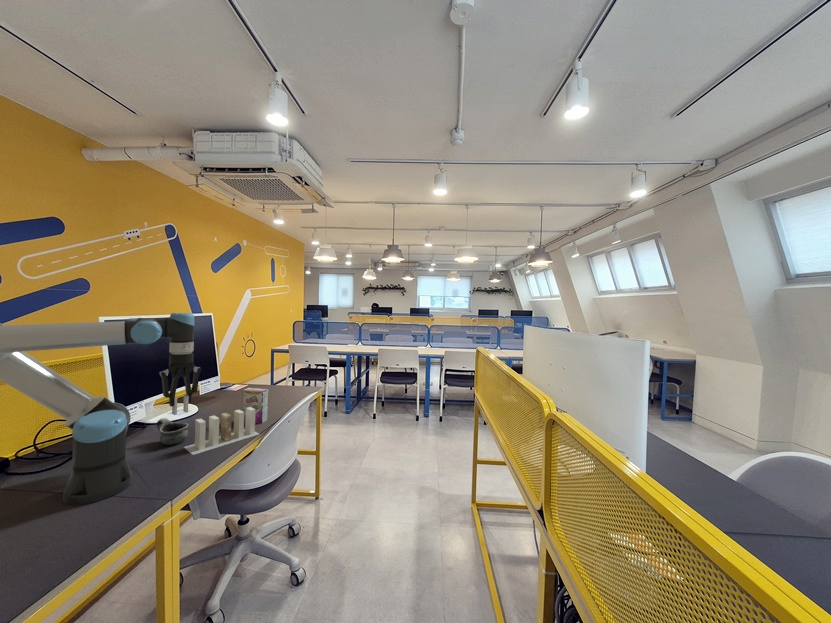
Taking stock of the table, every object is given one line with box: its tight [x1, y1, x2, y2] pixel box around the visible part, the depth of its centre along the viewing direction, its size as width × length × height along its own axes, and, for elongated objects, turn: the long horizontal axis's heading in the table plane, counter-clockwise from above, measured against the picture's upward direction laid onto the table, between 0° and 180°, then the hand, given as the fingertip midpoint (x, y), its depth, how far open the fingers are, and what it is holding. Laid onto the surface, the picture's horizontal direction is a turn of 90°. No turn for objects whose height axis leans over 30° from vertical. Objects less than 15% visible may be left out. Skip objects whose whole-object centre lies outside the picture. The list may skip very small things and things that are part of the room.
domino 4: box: [244, 407, 256, 434], centre depth 142 cm, size 2×5×11 cm, turn 54°
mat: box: [183, 428, 260, 456], centre depth 133 cm, size 26×10×1 cm, turn 144°
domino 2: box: [207, 414, 220, 446], centre depth 130 cm, size 2×5×11 cm, turn 54°
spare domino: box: [220, 412, 232, 442], centre depth 133 cm, size 2×5×11 cm, turn 54°
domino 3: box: [233, 409, 245, 438], centre depth 138 cm, size 2×5×11 cm, turn 54°
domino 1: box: [194, 418, 207, 450], centre depth 126 cm, size 2×5×11 cm, turn 54°
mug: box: [156, 417, 189, 446], centre depth 129 cm, size 10×12×10 cm
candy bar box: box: [241, 387, 269, 424], centre depth 155 cm, size 11×5×16 cm, turn 84°
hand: (180, 412), depth 120 cm, fingers open, 3 cm apart
